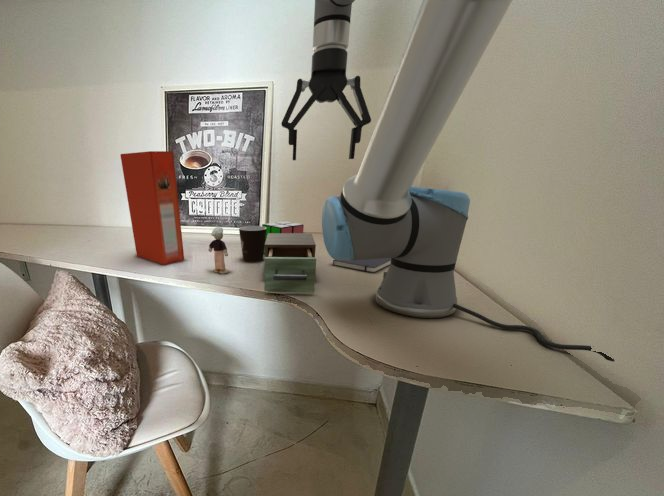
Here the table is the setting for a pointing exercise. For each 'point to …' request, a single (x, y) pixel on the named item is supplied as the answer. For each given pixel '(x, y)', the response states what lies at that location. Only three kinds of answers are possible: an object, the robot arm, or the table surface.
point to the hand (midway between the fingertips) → (322, 159)
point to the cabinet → (290, 241)
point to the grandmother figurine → (218, 250)
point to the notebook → (364, 264)
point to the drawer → (290, 270)
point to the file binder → (153, 205)
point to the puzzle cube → (283, 228)
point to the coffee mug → (252, 242)
